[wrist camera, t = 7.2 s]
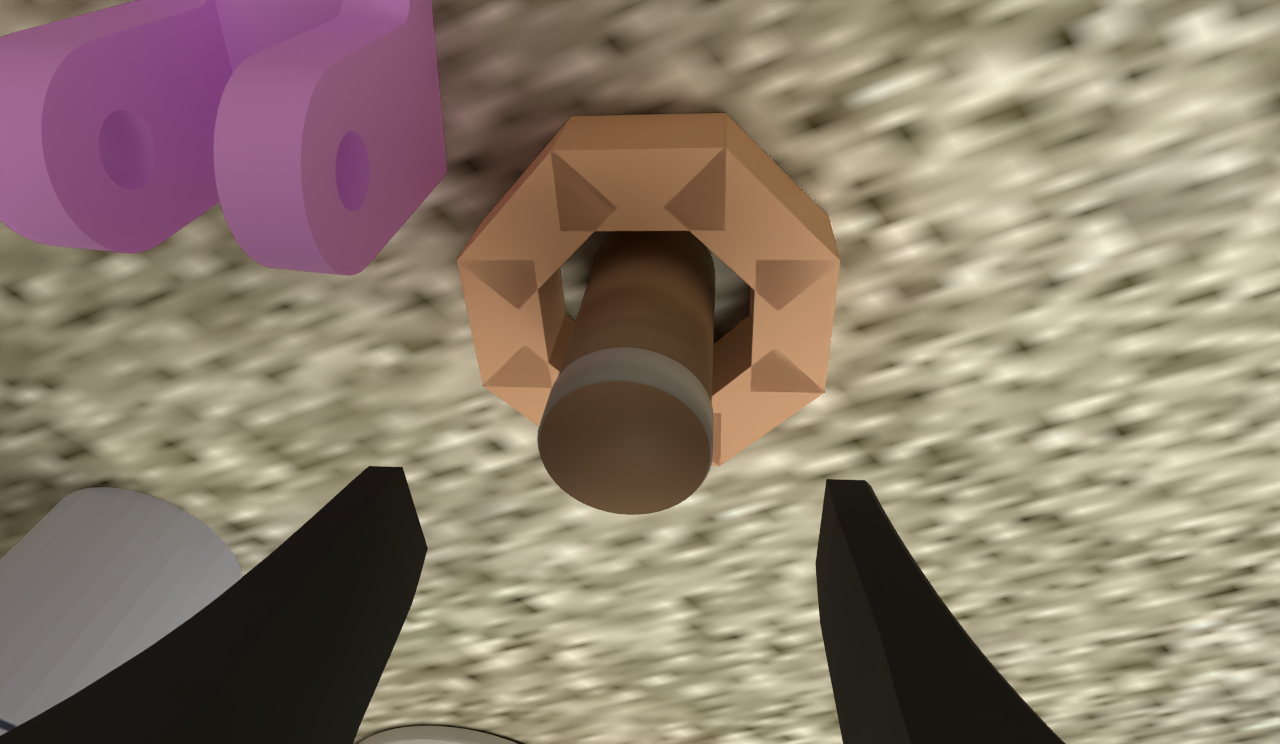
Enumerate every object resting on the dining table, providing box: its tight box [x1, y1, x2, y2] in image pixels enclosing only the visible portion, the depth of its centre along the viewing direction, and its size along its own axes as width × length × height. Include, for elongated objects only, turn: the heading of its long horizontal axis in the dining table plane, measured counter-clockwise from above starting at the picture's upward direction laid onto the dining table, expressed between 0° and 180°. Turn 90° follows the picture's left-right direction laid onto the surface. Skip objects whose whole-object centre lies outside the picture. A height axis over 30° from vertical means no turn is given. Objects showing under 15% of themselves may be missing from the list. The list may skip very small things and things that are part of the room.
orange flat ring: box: [457, 113, 840, 466], centre depth 19 cm, size 9×9×2 cm
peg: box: [537, 231, 715, 515], centre depth 17 cm, size 3×3×7 cm
